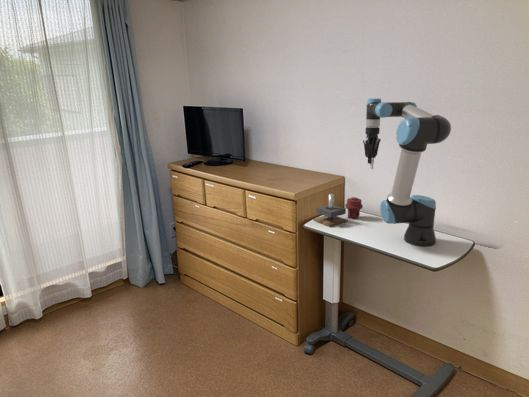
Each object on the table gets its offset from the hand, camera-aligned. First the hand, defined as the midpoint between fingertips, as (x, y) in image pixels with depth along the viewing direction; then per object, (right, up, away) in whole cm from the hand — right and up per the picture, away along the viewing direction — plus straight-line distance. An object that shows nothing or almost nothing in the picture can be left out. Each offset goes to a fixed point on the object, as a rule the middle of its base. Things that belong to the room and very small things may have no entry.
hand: (370, 168), depth 230 cm
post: (-22, -29, +6) cm, 37 cm away
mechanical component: (-7, -29, +13) cm, 32 cm away
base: (-22, -30, +6) cm, 38 cm away
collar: (-22, -25, +5) cm, 34 cm away
